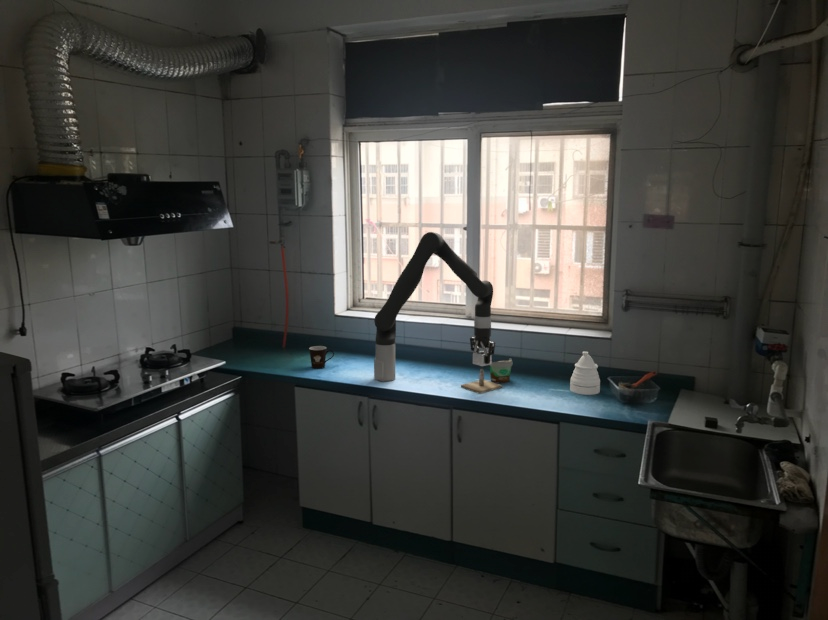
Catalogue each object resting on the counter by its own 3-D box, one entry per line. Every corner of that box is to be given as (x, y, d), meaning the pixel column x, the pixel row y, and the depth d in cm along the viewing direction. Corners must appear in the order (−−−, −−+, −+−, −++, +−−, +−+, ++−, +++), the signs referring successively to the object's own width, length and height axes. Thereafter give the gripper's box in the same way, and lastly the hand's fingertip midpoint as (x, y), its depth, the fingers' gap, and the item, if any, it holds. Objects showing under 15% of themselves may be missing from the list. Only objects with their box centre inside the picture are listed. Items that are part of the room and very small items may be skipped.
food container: (495, 385, 296) (496, 364, 294) (488, 381, 302) (488, 361, 300) (517, 381, 302) (518, 360, 300) (509, 378, 307) (510, 357, 305)
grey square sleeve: (482, 366, 287) (482, 355, 286) (472, 363, 292) (472, 352, 291) (491, 364, 291) (491, 353, 290) (482, 361, 295) (482, 350, 295)
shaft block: (479, 393, 284) (480, 374, 283) (461, 387, 294) (461, 368, 292) (501, 387, 293) (502, 369, 291) (483, 381, 302) (483, 363, 301)
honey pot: (594, 396, 280) (596, 356, 277) (566, 391, 287) (567, 352, 284) (603, 388, 291) (605, 350, 288) (575, 384, 298) (577, 346, 294)
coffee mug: (306, 368, 324) (305, 349, 322) (315, 364, 331) (314, 345, 330) (326, 371, 319) (326, 351, 317) (335, 366, 327) (334, 347, 325)
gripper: (465, 324, 291) (465, 360, 294) (488, 329, 280) (487, 367, 283) (477, 322, 296) (476, 357, 299) (500, 327, 285) (499, 364, 288)
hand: (482, 362), depth 291 cm, fingers closed on grey square sleeve, 6 cm apart
